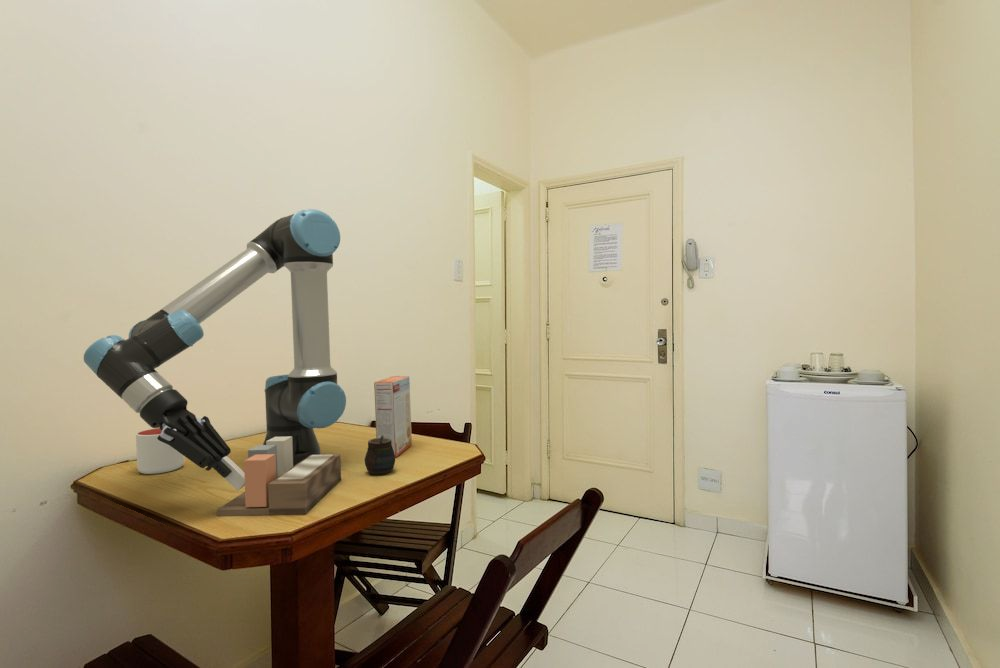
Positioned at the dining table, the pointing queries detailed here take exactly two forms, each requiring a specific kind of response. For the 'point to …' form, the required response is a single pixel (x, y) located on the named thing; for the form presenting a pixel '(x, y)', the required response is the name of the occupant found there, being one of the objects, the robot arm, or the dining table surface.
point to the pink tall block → (259, 479)
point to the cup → (156, 453)
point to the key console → (293, 489)
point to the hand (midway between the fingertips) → (244, 484)
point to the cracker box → (394, 412)
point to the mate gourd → (379, 456)
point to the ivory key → (283, 453)
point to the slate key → (264, 452)
